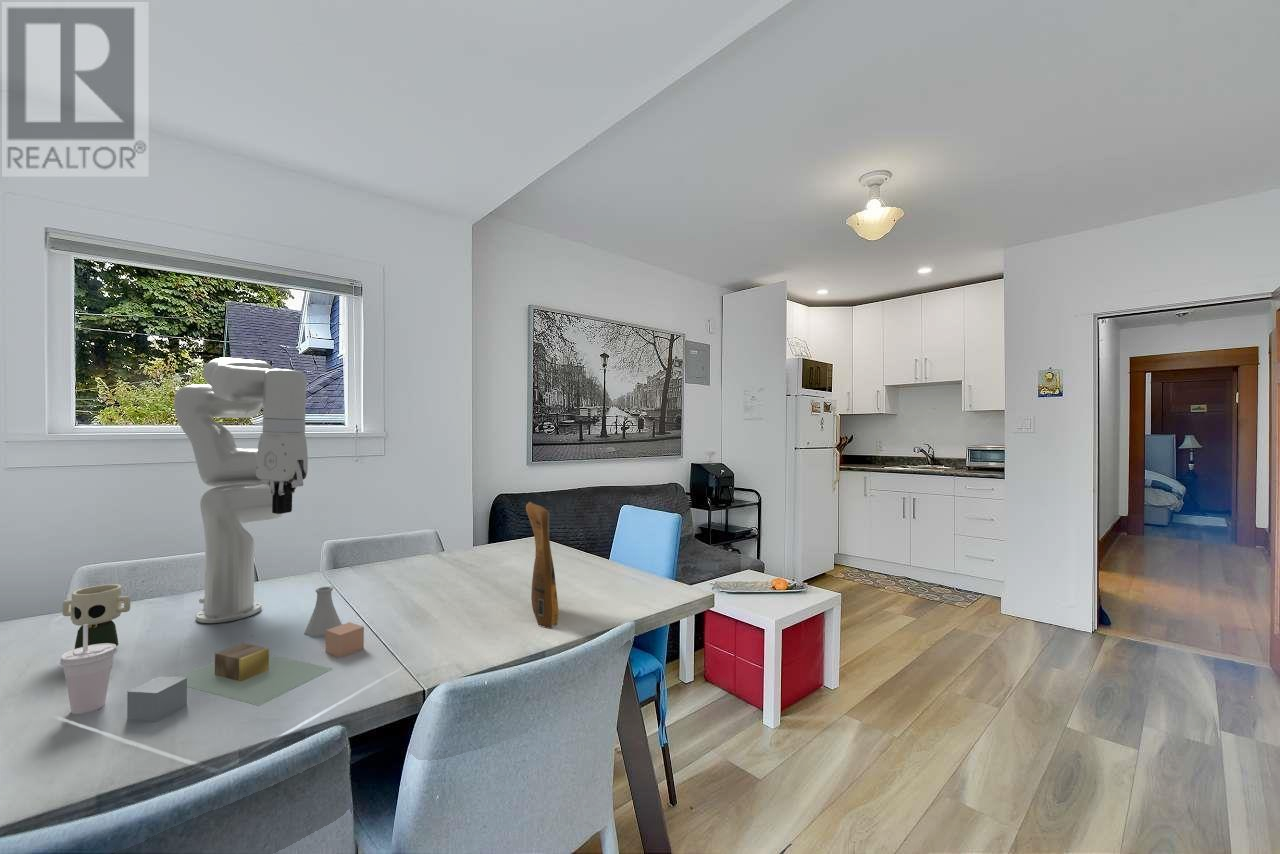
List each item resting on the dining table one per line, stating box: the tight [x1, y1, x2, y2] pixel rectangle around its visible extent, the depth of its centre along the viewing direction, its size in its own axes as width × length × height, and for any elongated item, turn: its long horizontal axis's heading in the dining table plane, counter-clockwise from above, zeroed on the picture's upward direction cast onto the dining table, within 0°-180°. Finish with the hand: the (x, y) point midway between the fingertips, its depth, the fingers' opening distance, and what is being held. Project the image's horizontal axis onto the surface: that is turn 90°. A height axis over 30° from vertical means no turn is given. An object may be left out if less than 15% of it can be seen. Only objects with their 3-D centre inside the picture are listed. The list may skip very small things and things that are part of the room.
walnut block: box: [214, 642, 270, 681], centre depth 98 cm, size 4×5×7 cm
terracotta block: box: [325, 621, 365, 658], centre depth 108 cm, size 5×5×5 cm
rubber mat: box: [175, 654, 333, 707], centre depth 97 cm, size 24×14×1 cm, turn 71°
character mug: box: [61, 583, 131, 649], centre depth 106 cm, size 11×7×13 cm, turn 106°
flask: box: [303, 586, 343, 638], centre depth 118 cm, size 7×7×10 cm
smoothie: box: [59, 624, 117, 715], centre depth 86 cm, size 6×6×14 cm
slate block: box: [126, 675, 188, 723], centre depth 84 cm, size 5×5×5 cm
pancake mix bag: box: [525, 501, 559, 629], centre depth 129 cm, size 7×19×28 cm, turn 19°
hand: (282, 512), depth 112 cm, fingers closed
